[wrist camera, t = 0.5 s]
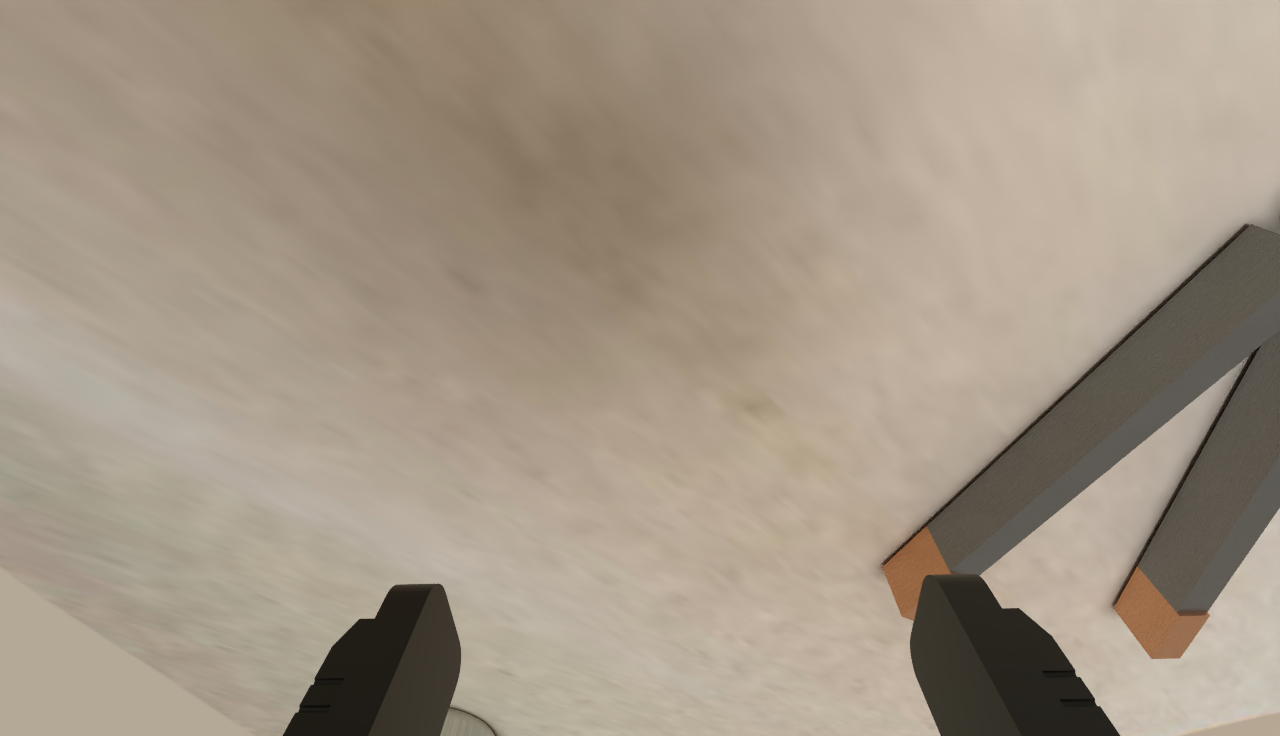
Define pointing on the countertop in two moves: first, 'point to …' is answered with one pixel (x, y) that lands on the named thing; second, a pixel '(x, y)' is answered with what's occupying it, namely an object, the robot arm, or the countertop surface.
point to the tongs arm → (1104, 415)
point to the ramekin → (464, 725)
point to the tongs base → (1211, 516)
